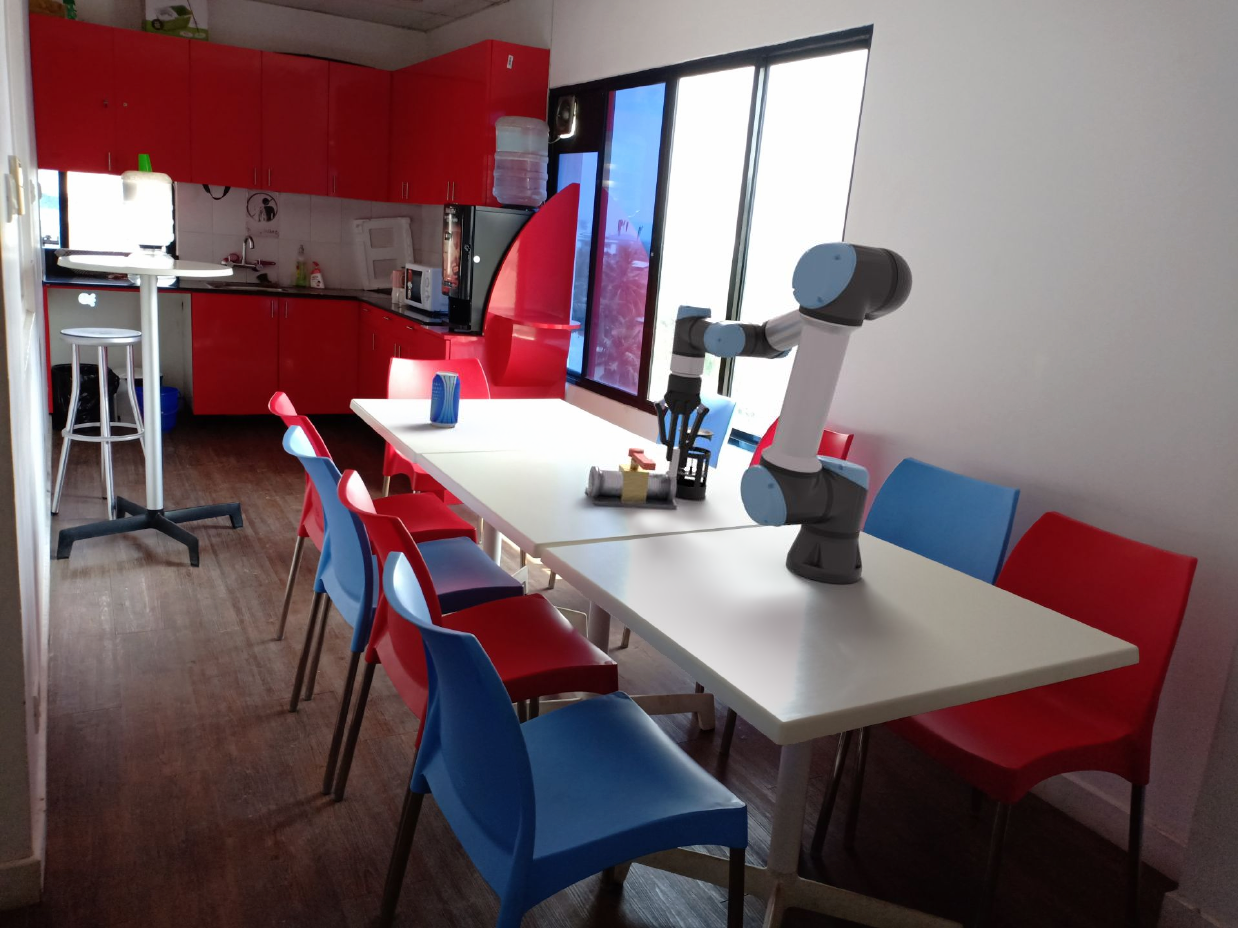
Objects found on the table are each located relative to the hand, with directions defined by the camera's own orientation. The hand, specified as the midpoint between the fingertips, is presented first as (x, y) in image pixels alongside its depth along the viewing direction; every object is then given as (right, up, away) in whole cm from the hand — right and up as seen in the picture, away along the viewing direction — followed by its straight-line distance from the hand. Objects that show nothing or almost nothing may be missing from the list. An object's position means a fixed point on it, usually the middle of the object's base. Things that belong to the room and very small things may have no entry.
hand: (672, 475), depth 214 cm
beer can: (-66, +14, +70) cm, 97 cm away
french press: (+5, -5, +22) cm, 23 cm away
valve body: (-10, -6, +11) cm, 15 cm away
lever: (-7, +3, +3) cm, 8 cm away
